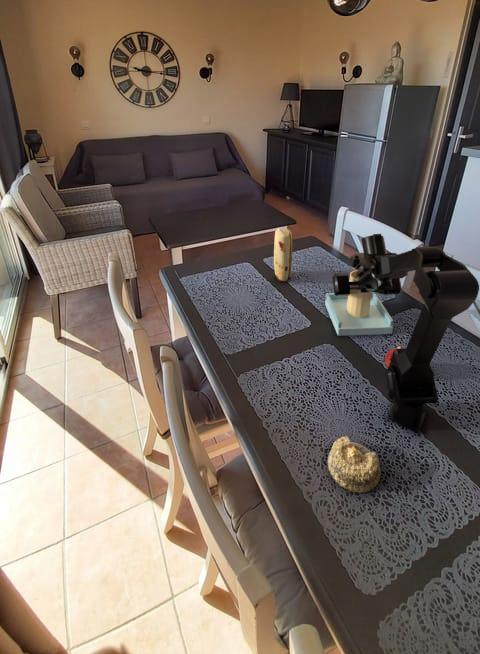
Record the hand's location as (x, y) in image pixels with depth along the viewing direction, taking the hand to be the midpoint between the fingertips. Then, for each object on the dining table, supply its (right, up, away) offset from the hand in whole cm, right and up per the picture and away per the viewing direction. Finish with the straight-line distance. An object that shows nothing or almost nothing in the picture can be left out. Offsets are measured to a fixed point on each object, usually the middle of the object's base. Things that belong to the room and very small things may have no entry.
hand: (357, 290), depth 111 cm
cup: (0, -7, +1) cm, 7 cm away
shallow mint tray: (0, -9, +2) cm, 10 cm away
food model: (-20, 0, +27) cm, 34 cm away
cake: (-14, -28, -41) cm, 52 cm away
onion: (+3, -18, -18) cm, 26 cm away
